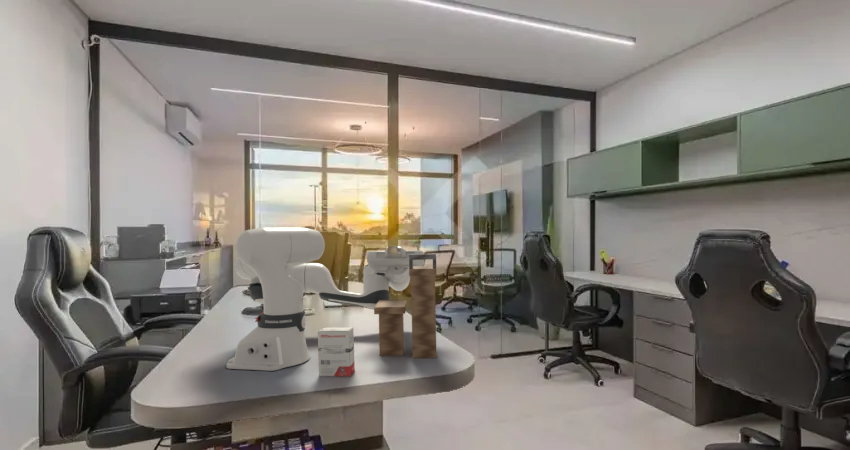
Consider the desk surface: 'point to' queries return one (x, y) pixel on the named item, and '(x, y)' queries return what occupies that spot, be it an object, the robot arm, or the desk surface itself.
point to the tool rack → (421, 314)
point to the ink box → (336, 351)
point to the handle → (392, 249)
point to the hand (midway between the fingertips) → (394, 248)
